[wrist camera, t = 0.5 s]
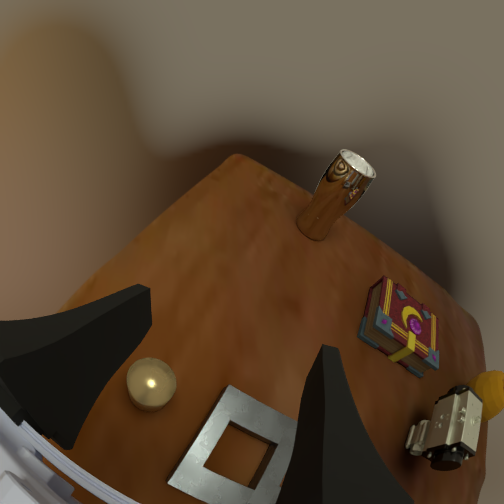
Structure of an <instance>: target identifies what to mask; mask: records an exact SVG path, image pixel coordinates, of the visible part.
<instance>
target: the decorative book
mask: <svg viewBox="0 0 504 504" xmlns="http://www.w3.org/2000/svg"><path fill="white" fill-rule="evenodd" d="M357 337H358V338H360V339H361V340H363V341H364V342H366V343H367V344H369V345H370V346H372V347H373V348H375V349H376V348H378V349H379V350H381V351H382V352H384V353H385V354H387V355H388V359H390V360H391V361H393V362H396V361H397V362H399V363H400V364H402V365H403V366H405V367H406V369H407V370H408V371H410V372H411V373H413V374H414V375H416V376H417V377H419V378H421V377H423V372H424V371H426V370H428V369H430V368H432V369H434V370H437V369H439V350H438V318H437V317H436V316H434V315H433V314H432V313H431V312H430V309H429V308H428V307H427V306H426V305H425V304H423V303H422V304H420V303H419V302H417V301H416V300H415V299H414V298H412V297H411V296H410V295H409V294H407V293H406V289H405V288H404V287H402V286H401V285H400V284H399V283H397V284H395V283H393V282H392V281H391V280H389V279H388V278H387V277H386V276H383V277H382V278H381V279H379V280H378V281H377V282H376V283H375V284H374V285H373V286H371V287H370V290H369V295H368V300H367V304H366V309H365V313H364V317H363V318H362V320H361V324H360V328H359V332H358V336H357Z"/></svg>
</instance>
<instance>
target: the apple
mask: <svg viewBox="0 0 504 504" xmlns="http://www.w3.org/2000/svg"><path fill="white" fill-rule="evenodd" d="M466 385H467V386H470V387H471V388H472V389H473V391H474V392H475V393H476V394H477V395H478V396H479V397H480V398H481V399H482V400H483V404H482V413H481V422H485V421H488V420H490V419H491V418H493V417H494V416H496V415H497V414H499V412H500V411H501V410H502V409H503V408H504V373H503V372H502V371H495V370H494V371H488V372H483V373H481V374H479V375H478V376H476V377H474V378H473V379H471V380H470V381H469V382H468V383H467V384H466Z"/></svg>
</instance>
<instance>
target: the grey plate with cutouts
mask: <svg viewBox="0 0 504 504" xmlns="http://www.w3.org/2000/svg"><path fill="white" fill-rule="evenodd" d="M297 423H298V422H297V421H295V420H293V419H291V418H289V417H287V416H285V415H283V414H281V413H279V412H277V411H276V410H274V409H272V408H270V407H268V406H266V405H264V404H263V403H261V402H259V401H257V400H255V399H254V398H252V397H250V396H248V395H247V394H245V393H243V392H241V391H240V390H238V389H236V388H235V387H233V386H231V385H230V384H229V385H228V386H226V387H225V388H223V390H222V392H221V393H220V395H219V397H218V398H217V400H216V402H215V403H214V405H213V407H212V408H211V410H210V411H209V413H208V415H207V416H206V418H205V420H204V421H203V423H202V424H201V426H200V428H199V429H198V431H197V433H196V434H195V436H194V437H193V439H192V440H191V442H190V444H189V445H188V447H187V448H186V450H185V451H184V453H183V455H182V456H181V458H180V459H179V461H178V462H177V464H176V465H175V467H174V468H173V470H172V471H171V473H170V474H169V476H168V477H167V479H166V482H167V483H168V484H170V485H172V486H174V487H175V488H177V489H179V490H181V491H183V492H185V493H187V494H189V495H191V496H193V497H196V498H198V499H200V500H202V501H204V502H207V503H209V504H275V503H276V501H277V498H278V495H279V493H280V490H281V487H279V485H280V483H281V481H282V479H283V477H284V475H285V473H286V471H287V469H288V466H289V463H290V459H291V456H292V452H293V447H294V441H295V435H296V429H297ZM227 424H230V425H232V426H234V427H236V428H237V429H239V430H241V431H243V432H245V433H247V434H249V435H251V436H253V437H255V438H257V439H259V440H261V441H263V442H265V443H267V444H269V445H270V446H269V448H268V450H267V452H266V454H265V456H264V458H263V460H262V461H261V463H260V465H259V467H258V469H257V471H256V473H255V475H254V477H253V478H252V480H251V482H250V484H249V486H248V487H245V486H243V485H240V484H238V483H236V482H234V481H231V480H229V479H227V478H225V477H222V476H220V475H218V474H216V473H214V472H212V471H210V470H208V469H206V468H204V467H202V466H203V465H204V463H205V461H206V460H207V458H208V456H209V455H210V453H211V451H212V450H213V448H214V446H215V445H216V443H217V441H218V440H219V438H220V436H221V435H222V433H223V431H224V429H225V428H226V426H227Z"/></svg>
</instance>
